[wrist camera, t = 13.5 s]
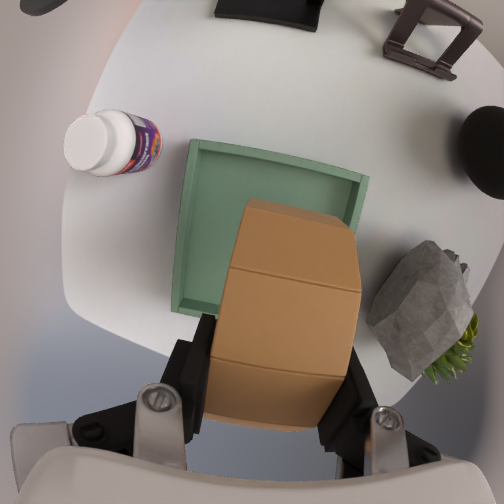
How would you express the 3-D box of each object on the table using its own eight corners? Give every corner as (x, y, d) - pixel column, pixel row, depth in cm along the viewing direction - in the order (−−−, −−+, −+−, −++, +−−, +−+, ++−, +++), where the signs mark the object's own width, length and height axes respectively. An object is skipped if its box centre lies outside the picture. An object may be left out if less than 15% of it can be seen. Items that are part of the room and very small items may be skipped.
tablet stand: (381, 58, 20) (420, 30, 12) (376, 4, 17) (406, -31, 9) (446, 82, 20) (493, 70, 12) (439, 29, 17) (478, 9, 9)
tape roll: (226, 333, 21) (196, 454, 10) (254, 189, 17) (229, 231, 7) (283, 343, 21) (287, 467, 10) (322, 204, 17) (395, 267, 7)
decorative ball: (468, 94, 20) (524, 86, 10) (502, 160, 22) (556, 170, 13) (428, 138, 22) (492, 138, 13) (467, 207, 25) (525, 230, 15)
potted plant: (440, 211, 22) (510, 296, 20) (370, 269, 32) (439, 331, 31) (425, 308, 15) (503, 391, 14) (331, 348, 26) (415, 408, 24)
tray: (177, 298, 29) (170, 311, 26) (197, 140, 24) (190, 138, 21) (316, 323, 30) (320, 337, 27) (359, 174, 24) (370, 176, 22)
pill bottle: (146, 181, 25) (92, 195, 16) (107, 156, 24) (46, 161, 15) (174, 133, 23) (129, 122, 14) (133, 110, 23) (77, 93, 13)
